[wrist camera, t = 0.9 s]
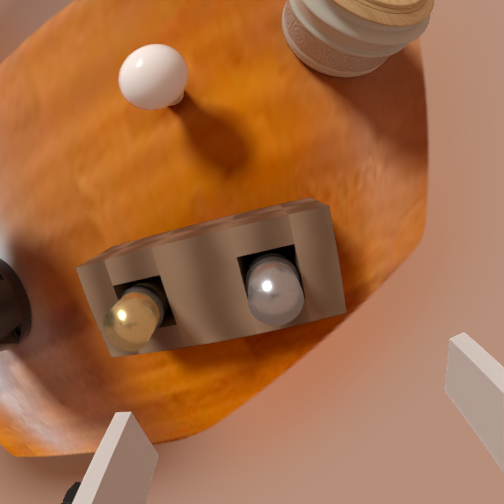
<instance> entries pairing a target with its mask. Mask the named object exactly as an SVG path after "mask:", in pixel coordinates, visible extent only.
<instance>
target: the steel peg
mask: <svg viewBox="0 0 504 504" xmlns="http://www.w3.org/2000/svg"><path fill="white" fill-rule="evenodd" d="M246 289H247V292H248V307H249V310H250V312H251V313H252V315H253V316H254V317H255V318H256V319H257V320H258V321H260V322H262V323H264V324H267V325H272V326H278V325H283V324H286V323H288V322H290V321H292V320H293V319H294V318H296V317H297V315H298V314H299V313H300V311H301V309H302V307H303V303H304V295H303V291H302V289H301V286H300V279H299V275H298V272H297V270H296V268H295V266H294V265H293V264H292V262H290V259H289V257H288V256H287V255H286V254H285V253H284V252H283V251H282V250H280V249H277V248H275V249H270V250H266V251H262V252H257V253H255V254H254V255H253V257H252V259H251V261H250V264H249V270H248V272H247V276H246Z"/></svg>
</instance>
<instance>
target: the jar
mask: <svg viewBox="0 0 504 504" xmlns="http://www.w3.org/2000/svg"><path fill="white" fill-rule="evenodd" d="M433 5H434V0H287V2H286V4H285V6H284V9H283V14H282V29H283V33H284V36H285V39H286V41H287V44H288V45H289V47H290V49H291V50H292V52H293V53H294V54H295V55H296V56H297V57H298V58H299V59H300V60H301V61H302V62H303V63H305V64H306V65H307V66H309V67H310V68H312V69H314V70H316V71H318V72H320V73H323V74H326V75H329V76H334V77H342V78H349V77H356V76H361V75H365V74H368V73H370V72H372V71H374V70H375V69H377V68H378V67H380V66H381V65H382V64H383V63H384V62H385V61H386V60H387V58H388V57H389V56H391V55H392V54H395V53H397V52H399V51H400V50H402V49H403V48H404V47H405V46H406V45H407V44H408V43H409V42H411V41H413V40H415V39H416V38H418V37H419V36H420V35H421V34H422V33H423V32H424V31H425V29H426V28H427V25H428V23H429V19H430V13H431V11H432V9H433Z"/></svg>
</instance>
